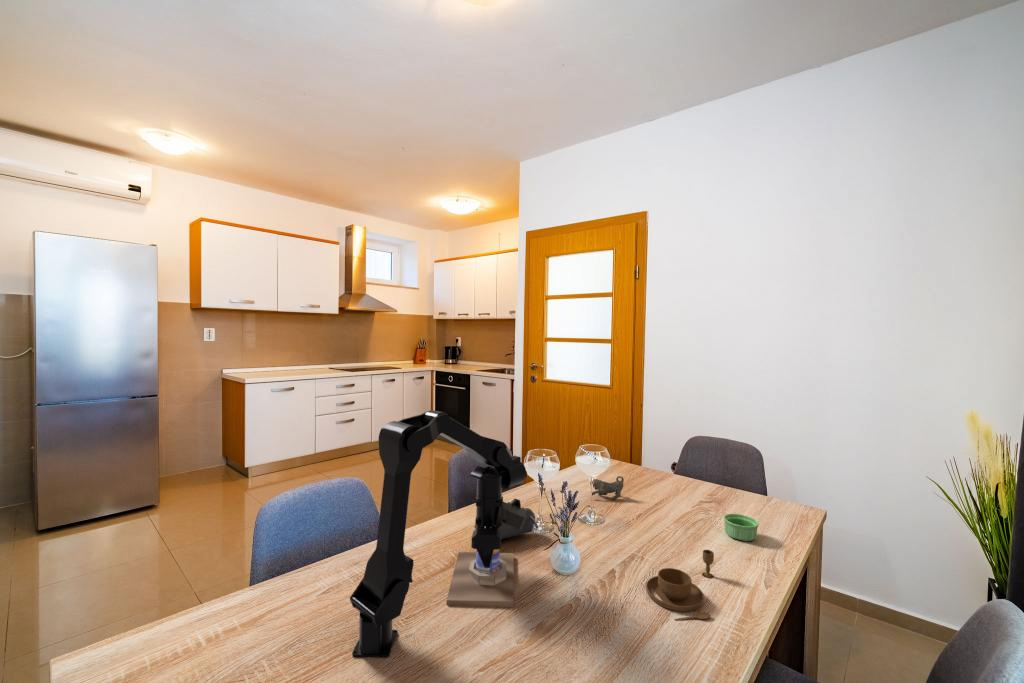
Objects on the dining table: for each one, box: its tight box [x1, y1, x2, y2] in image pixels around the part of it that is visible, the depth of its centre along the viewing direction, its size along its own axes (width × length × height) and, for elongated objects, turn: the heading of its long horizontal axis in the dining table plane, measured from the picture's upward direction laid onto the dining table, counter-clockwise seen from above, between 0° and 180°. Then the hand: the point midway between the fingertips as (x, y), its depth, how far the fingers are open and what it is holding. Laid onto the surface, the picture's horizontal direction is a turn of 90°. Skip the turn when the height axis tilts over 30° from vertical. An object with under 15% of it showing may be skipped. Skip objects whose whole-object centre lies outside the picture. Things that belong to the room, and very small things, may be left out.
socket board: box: [446, 551, 515, 608], centre depth 102 cm, size 20×14×3 cm
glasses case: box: [474, 507, 539, 540], centre depth 121 cm, size 18×10×8 cm, turn 118°
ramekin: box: [723, 513, 760, 542], centre depth 127 cm, size 9×9×4 cm
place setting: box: [645, 549, 715, 622], centre depth 98 cm, size 18×20×6 cm
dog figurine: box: [591, 475, 624, 501], centre depth 155 cm, size 12×6×7 cm, turn 88°
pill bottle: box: [475, 527, 501, 574], centre depth 101 cm, size 5×5×10 cm
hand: (487, 560), depth 101 cm, fingers closed on pill bottle, 5 cm apart
